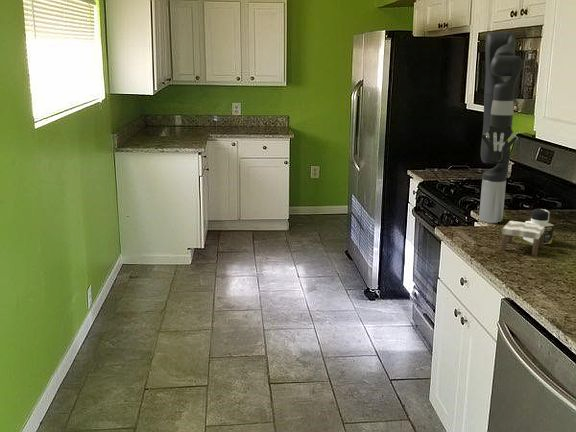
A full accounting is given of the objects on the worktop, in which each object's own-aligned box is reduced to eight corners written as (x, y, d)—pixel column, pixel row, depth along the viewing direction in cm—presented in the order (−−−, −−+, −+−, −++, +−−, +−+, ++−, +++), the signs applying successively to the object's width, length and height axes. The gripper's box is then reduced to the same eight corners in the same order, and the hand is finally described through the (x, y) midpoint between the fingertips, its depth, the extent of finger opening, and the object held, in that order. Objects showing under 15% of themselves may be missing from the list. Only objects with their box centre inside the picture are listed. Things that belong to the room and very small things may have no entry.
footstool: (510, 220, 222) (545, 225, 216) (508, 241, 224) (542, 246, 218) (502, 228, 212) (539, 233, 206) (500, 250, 215) (536, 256, 208)
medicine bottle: (535, 245, 220) (538, 213, 217) (522, 239, 227) (526, 208, 224) (551, 243, 222) (555, 211, 219) (539, 237, 229) (542, 207, 226)
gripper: (523, 113, 217) (518, 161, 222) (485, 111, 224) (481, 158, 228) (519, 115, 211) (514, 164, 216) (480, 113, 218) (476, 161, 222)
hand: (497, 161), depth 222 cm, fingers closed
